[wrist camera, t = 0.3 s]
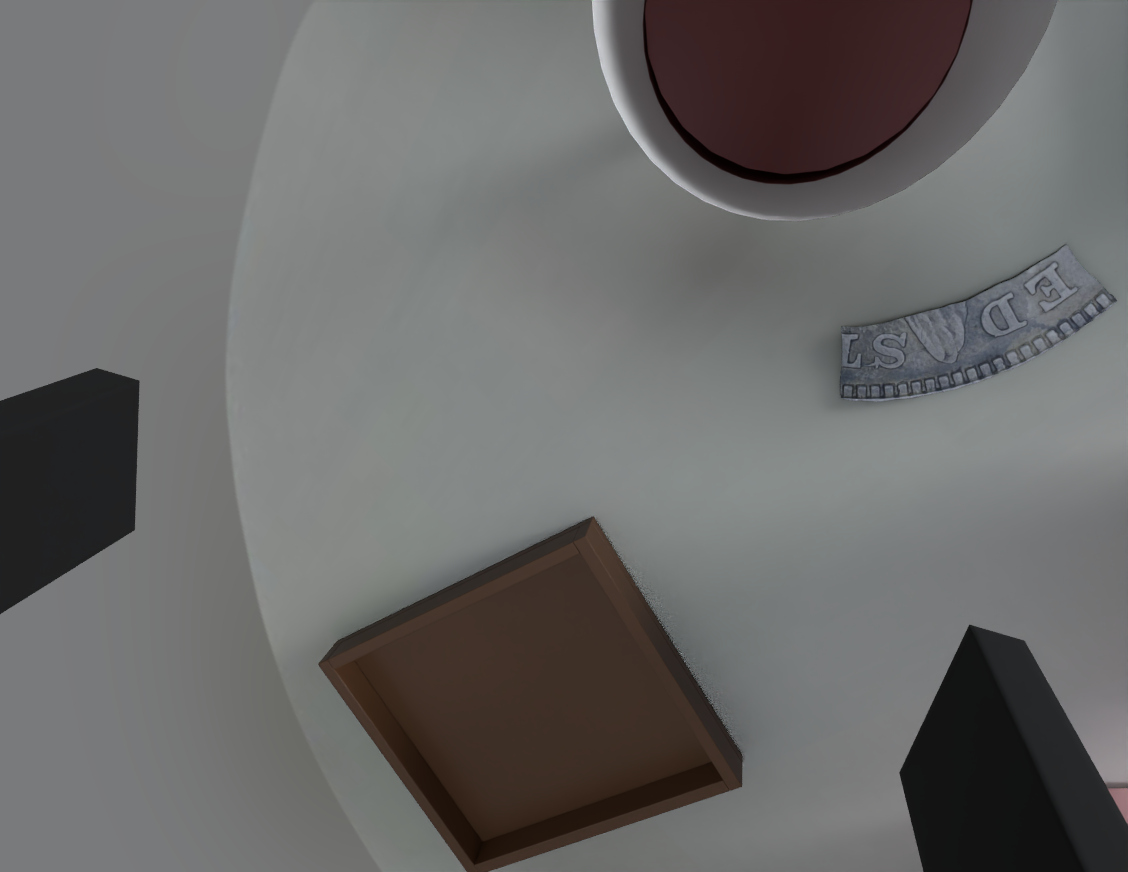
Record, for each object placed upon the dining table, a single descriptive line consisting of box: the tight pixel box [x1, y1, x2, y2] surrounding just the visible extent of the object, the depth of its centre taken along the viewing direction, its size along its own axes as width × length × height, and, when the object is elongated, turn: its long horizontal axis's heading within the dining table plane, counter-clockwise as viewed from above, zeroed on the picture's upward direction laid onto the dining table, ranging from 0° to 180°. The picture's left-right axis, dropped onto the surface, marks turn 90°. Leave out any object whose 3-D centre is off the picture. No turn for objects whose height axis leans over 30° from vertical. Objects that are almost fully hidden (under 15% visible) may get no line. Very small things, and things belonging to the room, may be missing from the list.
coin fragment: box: [840, 245, 1117, 402], centre depth 40 cm, size 13×5×1 cm, turn 114°
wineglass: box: [592, 0, 1057, 221], centre depth 27 cm, size 9×10×23 cm
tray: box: [318, 517, 742, 872], centre depth 51 cm, size 20×18×3 cm
